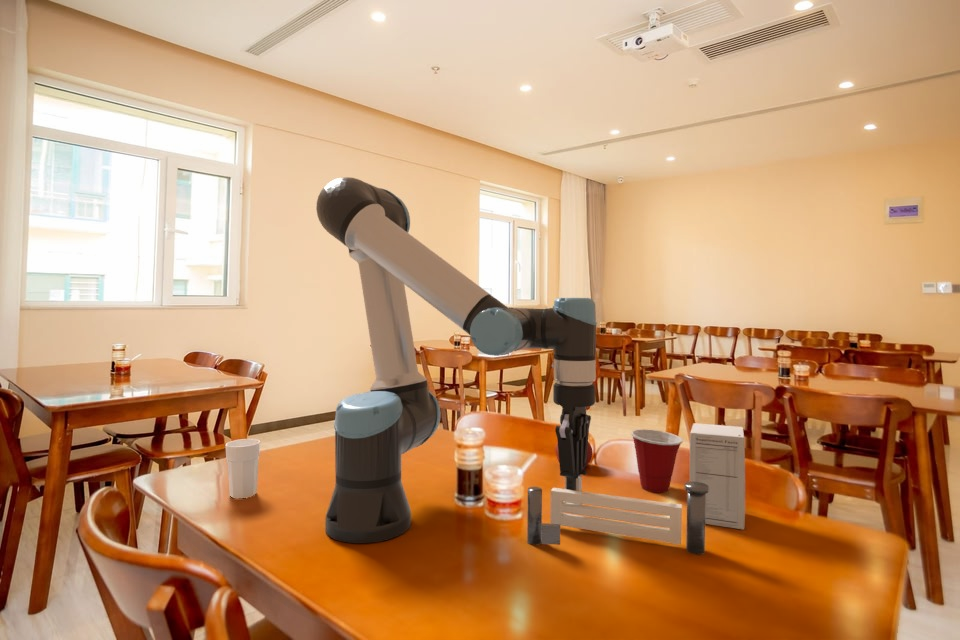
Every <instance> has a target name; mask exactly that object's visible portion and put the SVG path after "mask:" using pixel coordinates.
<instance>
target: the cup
mask: <svg viewBox="0 0 960 640" xmlns="http://www.w3.org/2000/svg"><path fill="white" fill-rule="evenodd" d="M260 449H261V441H260V439H257V438H256V439H255V438H242V439H235V440H231V441H228V442H226V443H225V457H226V462H227V464H226V465H227V476H228V490H229V491H228V492H229V497H230V496H231V497H233V498H246V497H250V496H253V495H254V494H255V493H256V492H257V493H258V481H259V480H258V479H259V478H258V476H259V475H258V474H259V458H260V453H261V450H260ZM254 496H255V495H254ZM254 496H253V497H254ZM231 497H230V498H231ZM250 498H251V497H250ZM246 499H247V498H246Z"/></svg>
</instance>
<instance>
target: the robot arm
mask: <svg viewBox="0 0 960 640" xmlns="http://www.w3.org/2000/svg"><path fill="white" fill-rule="evenodd" d="M316 199H317V201H316V209H315V210H316V214H317V218H318V221H319V223H320V224H321V226H322V227H323V229H324V230H325V231H326V232H327V233H328V234H330V235H331V236H332V237H333V238H335V239H336V240H338V241H339V242H340V243H342V244H343V246H345V247H346V248H348V253H349V254H348V255H349V258H351V259H352V260H354V261H355V262H356V263H357V264H358V269H359V275H360V277H359V278H360V280H361V281H360V283H361V289H362V296H363V302H364V308H365V309H364V310H365V314H366V320H367V328H368V329H367V330H368V333H369V339H370V347H371V352H372V361H373V367H374V373H375V374H374V375H375V380H374V382H373V383H371V384H372V385H371V386H370V387H369V391H365V392H362V393H355V394H352V395H349V396H347V397H344V398H343V399H342V400H341V401H339V403H338V404H337V406H336V408H335V417H334V418H335V419H334V423H333V427H334V437H335V438H334V441H335V442H334V443H335V444H334V449H335V450H334V451H335V452H334V454H335V465H334V466H335V467H334V468H335V486H334V489H333V492H332V495H331V498H330V501H329V504H328V508H327V511H326V514H325V518H324V519H325V521H324V523H325V524H324V525H325V527H324V529H325V533H326V534H327V535H328V536H329V537H330V538H332V539H333V540H336V541H339V542H344V543H347V544H348V543H349V544H351V543H352V544H371V543H378V542H383V541H387V540H391V539H395V538H397V537H398V536H401V535H402V534H404V533H406V532H407V531H408V530H409V528H410V527H411V525H412V513H411V512H412V510H411V507H410V503H409V500H408V497H407V494H406V491H405V489H404V486H403V482H402V455H403V454H405V453H407V452H409V451H411V450H412V449H414V448H418V447H420V446H421V445H423V444H425V443H426V442H427V441H428V440H429V439H431V437H432V436H433V435H435V432H437V429H438V427H439V425H440V422H441V415H442V414H441V407H440V403H439V401H438V399H437V397H436V396H435V395H434V394H433V393H432V392H431V391H430V390H429V386H428V379H427V377H425V376H424V375H422V374H421V373H420V371H419V369H418V364H417V363H418V362H417V357H416V350H415V349H416V348H415V345H414V344H415V343H414V337H413V332H412V325H411V317H410V312H409V307H408V306H409V305H408V299H407V293H406V287H407V288H409V289H410V290H411V291H412V292H414V293H415V294H416V295H418V296H419V297H420V298H421V299H422V300H423V301H425V302H426V303H428V304H430V305H431V306H432V307H433V308H435V309H436V310H437V311H438V312H440V313H441V314H442V315H444V317H446V318H447V319H449V320H450V321H451V322H453V323H454V325H456V326H457V327H459V328H460V329H462V330H463V331H464V332H465V333H466V334H468V335H469V336H470V338H471V342H472V344H473V345H474V347H475V348H476V349H477V350H478V352H479V351H480V352H481V353H482V354H485V355H487V356H505V355H509V354H510V353H512V352H517V351H520V350H525V349H527V350H528V349H529V350H530V349H535V350H536V349H537V350H538V349H541V350H542V349H543V350H544V349H545V350H552V351H553V362H552V363H551V368H552V369H553V380H554V381H556V382H555V383H554V384H553V387H552V389H553V391H552V392H553V395H552V396H553V399H552V400H553V403H554V404H556V405H557V406H560V407H562V409H561V414H560V416H559V417H560V418H559V423H560V425H556V426H555V430H554V432H555V434H556V435H555V436H556V437H557V441H558V452H559V461H558V463H559V476H561V477H564V489H567V490H575V491H582V490H583V484H582V483H583V476H587V474H588V470H585V469H586V467H587V465H586V460H587V447H588V442H589V435H590V425H591V420H592V416H591V415H589V414H588V413H587V408H588V407H592V406H594V405H595V404H596V385H595V384H594V382H595V381H596V380H597V373H596V372H597V367H596V366H597V363H596V360H597V359H596V352H597V350H596V347H597V317H596V315H597V314H596V302H595V301H594V300H593V299H592V298H589V297H557V298H555V299H554V301H553V305H552V307H549V308H548V307H546V308H533V307H532V308H531V307H529V308H527V307H526V308H525V307H524V308H523V307H520V308H519V307H508V306H507V305H505V304H504V303H502V302H501V301H500V300H498V299H497V298H495V297H494V296H493V295H492V294H490V293H489V292H488V291H487V290H485V289H484V288H482V287H481V286H480V285H479V284H477V283H476V282H474V281H473V280H472V279H470V277H467V276H466V275H465V274H464V273H462V272H461V271H460V270H458V269H457V268H456V267H454V266H453V265H451V263H450V262H448V261H446V260H445V259H443V257H441V256H439V255H438V253H435V252H434V251H433V250H432V249H431V248H429V247H428V246H426V244H425V245H424V244H423V243H422V242H421V241H419V240H418V239H417V238H415V237H414V236H413V235H411V234H410V233H409V231H410V227H411V217H410V212H409V209H408V207H407V206H406V204H405V203H404V201H403V200H402V199H400V197H398V196H397V195H395V194H394V193H393V192H391V191H389V190H388V189H384V188H380V187H378V186H375V185H372V184H370V183H367V182H366V181H363V180H361V179H359V178H355V177H349V176H348V177H339V178H335V179H333V180H331V181H330V182H328V183H327V184H326V185H324V186H323V188H322V189H321V190H320V192H319V195H318V196H317V198H316ZM582 475H583V476H582ZM582 492H583V491H582ZM564 502H565V503H572V504H579V505H583V504H580V503H573V502H566V501H564Z"/></svg>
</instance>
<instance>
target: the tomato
mask: <svg viewBox="0 0 960 640" xmlns="http://www.w3.org/2000/svg"><path fill="white" fill-rule="evenodd" d="M554 452H555V454H556V459H557V461H558V462H559V452H558V440H557V441H556V444H555V446H554ZM592 457H593V447H592V445H591V443H590V442H589V441H588V447H587V460H586V466H587V465H589V464H590V463H591V460H592V459H593V458H592Z"/></svg>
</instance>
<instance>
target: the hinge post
mask: <svg viewBox="0 0 960 640" xmlns="http://www.w3.org/2000/svg"><path fill="white" fill-rule="evenodd" d="M708 488H709V486H708V485H706V484H704V483H701V482H690V481H686V482H684V490H685V491H686V492H687V493H686V535H685V536H686V542H685V543H686V545H685V546H686V547H685V550H686V551H687V552H688V553H691V554H693V555H697V556H698V555H704V554H705V553H706V524H705V507H706V493H708Z"/></svg>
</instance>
